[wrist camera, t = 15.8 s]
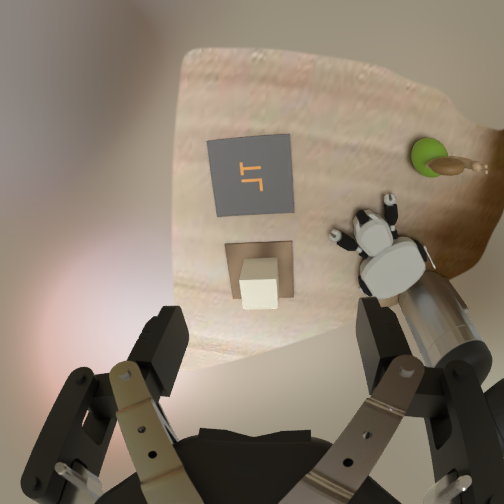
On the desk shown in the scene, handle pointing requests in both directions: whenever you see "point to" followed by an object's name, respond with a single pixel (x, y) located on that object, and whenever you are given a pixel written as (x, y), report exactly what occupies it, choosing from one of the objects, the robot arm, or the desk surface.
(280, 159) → the mat
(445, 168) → the snail figurine
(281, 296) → the walnut board
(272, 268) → the white block
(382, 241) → the robot toy
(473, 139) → the desk surface
